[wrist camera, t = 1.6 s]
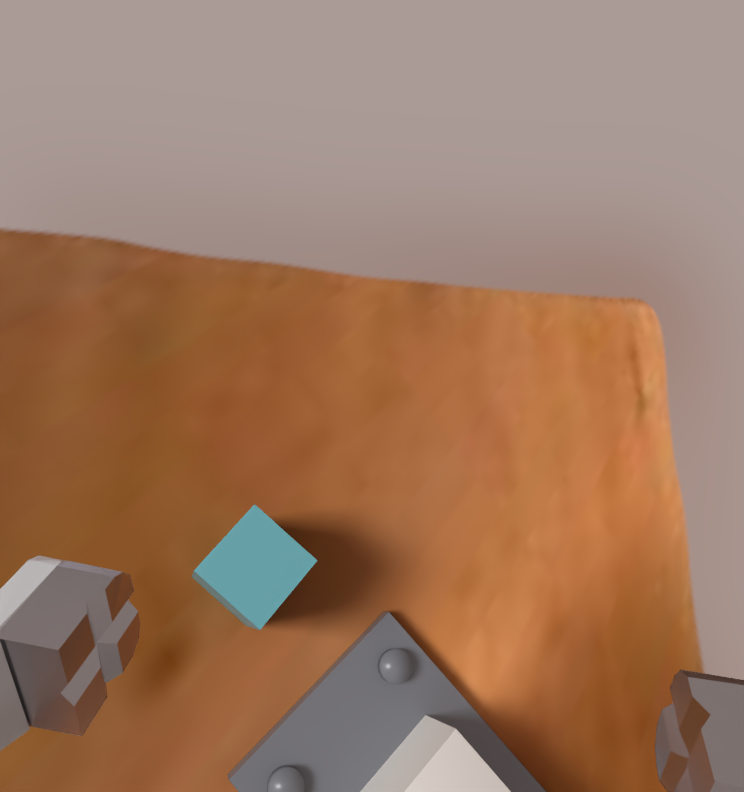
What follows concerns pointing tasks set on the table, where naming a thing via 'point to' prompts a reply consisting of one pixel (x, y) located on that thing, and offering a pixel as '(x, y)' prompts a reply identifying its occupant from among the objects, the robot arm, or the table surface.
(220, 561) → the teal brick
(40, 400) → the table surface
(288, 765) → the stack base
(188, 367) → the table surface
